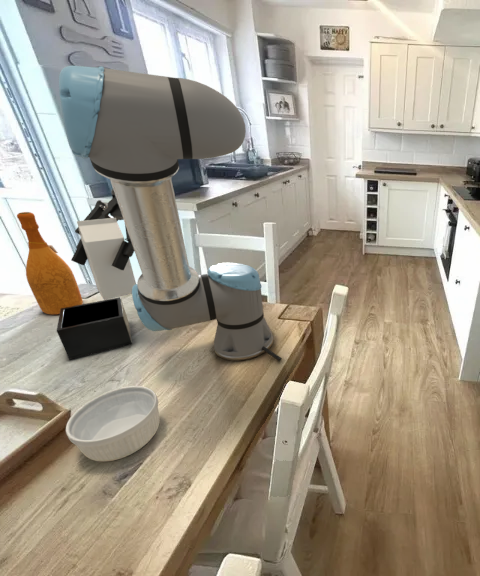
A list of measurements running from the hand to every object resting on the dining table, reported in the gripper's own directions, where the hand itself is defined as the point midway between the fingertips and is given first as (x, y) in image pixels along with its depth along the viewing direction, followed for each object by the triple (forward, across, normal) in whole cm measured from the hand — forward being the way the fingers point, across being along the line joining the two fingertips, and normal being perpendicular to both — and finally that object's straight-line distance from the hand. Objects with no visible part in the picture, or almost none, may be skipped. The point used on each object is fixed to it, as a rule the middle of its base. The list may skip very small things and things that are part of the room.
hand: (97, 265), depth 77 cm
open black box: (+16, +7, -16) cm, 24 cm away
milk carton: (+4, 0, -8) cm, 9 cm away
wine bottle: (+8, +32, -25) cm, 41 cm away
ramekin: (+34, -24, +2) cm, 42 cm away
